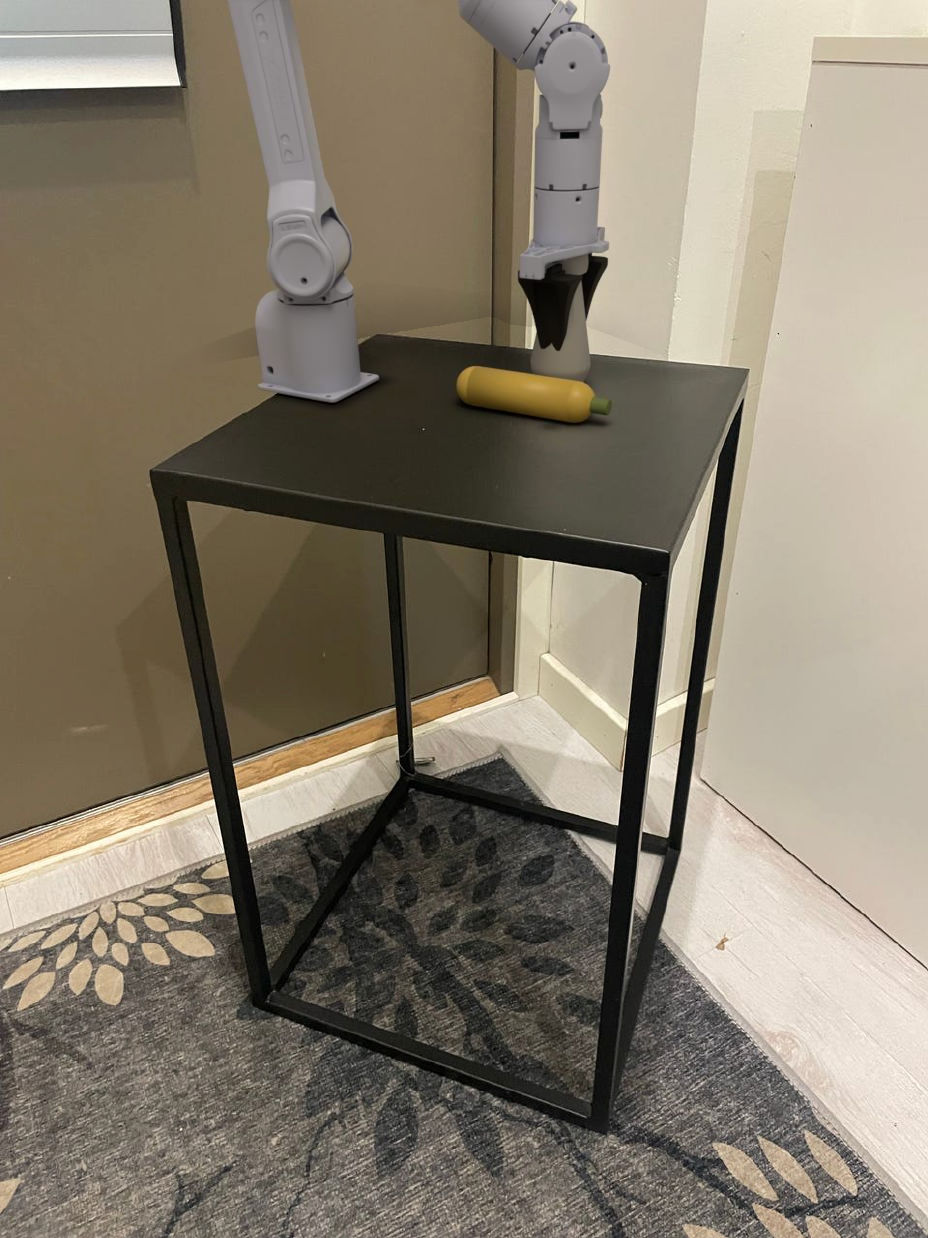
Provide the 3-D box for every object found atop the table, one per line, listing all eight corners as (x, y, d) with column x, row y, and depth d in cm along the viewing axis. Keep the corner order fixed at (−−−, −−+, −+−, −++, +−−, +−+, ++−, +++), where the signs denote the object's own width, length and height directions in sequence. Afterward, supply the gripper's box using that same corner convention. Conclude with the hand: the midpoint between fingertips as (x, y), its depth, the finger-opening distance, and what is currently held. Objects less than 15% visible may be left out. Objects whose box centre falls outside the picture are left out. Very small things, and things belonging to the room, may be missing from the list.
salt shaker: (591, 396, 87) (600, 251, 81) (531, 397, 87) (535, 252, 81) (585, 378, 92) (593, 240, 86) (528, 378, 92) (531, 240, 86)
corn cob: (449, 407, 86) (448, 369, 84) (468, 395, 88) (467, 358, 87) (600, 433, 80) (602, 393, 78) (615, 420, 82) (618, 381, 80)
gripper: (576, 201, 73) (569, 369, 81) (639, 177, 84) (628, 328, 91) (497, 196, 76) (497, 359, 84) (568, 174, 87) (562, 320, 94)
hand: (561, 342), depth 88 cm, fingers closed on salt shaker, 4 cm apart
